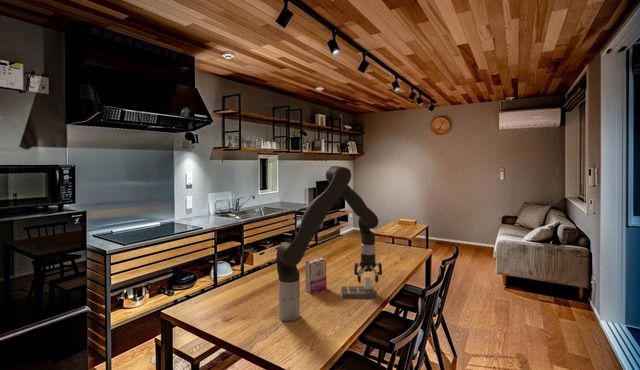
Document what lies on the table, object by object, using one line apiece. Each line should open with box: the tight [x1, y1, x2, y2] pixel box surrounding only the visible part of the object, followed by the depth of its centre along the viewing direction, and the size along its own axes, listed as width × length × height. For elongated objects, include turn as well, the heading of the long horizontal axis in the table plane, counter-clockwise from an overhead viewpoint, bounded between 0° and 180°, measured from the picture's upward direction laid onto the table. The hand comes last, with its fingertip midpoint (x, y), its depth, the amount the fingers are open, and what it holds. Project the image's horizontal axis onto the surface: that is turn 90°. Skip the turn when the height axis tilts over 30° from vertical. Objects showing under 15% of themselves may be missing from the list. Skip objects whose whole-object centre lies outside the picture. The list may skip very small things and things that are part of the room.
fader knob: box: [363, 274, 372, 290], centre depth 173 cm, size 4×3×7 cm
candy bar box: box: [304, 256, 327, 294], centre depth 179 cm, size 11×5×16 cm, turn 129°
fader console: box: [340, 285, 377, 299], centre depth 174 cm, size 10×17×2 cm, turn 91°
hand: (367, 282), depth 173 cm, fingers open, 8 cm apart
